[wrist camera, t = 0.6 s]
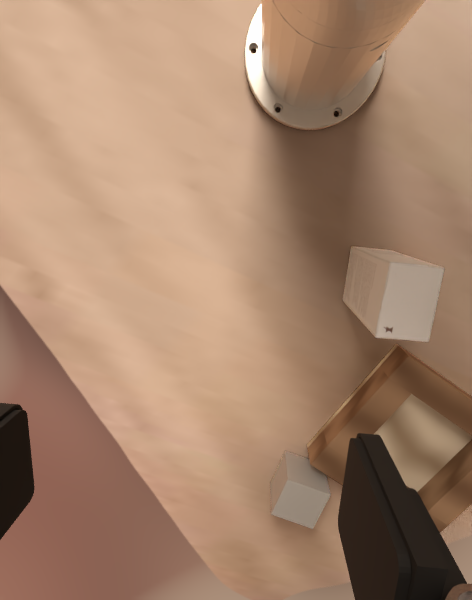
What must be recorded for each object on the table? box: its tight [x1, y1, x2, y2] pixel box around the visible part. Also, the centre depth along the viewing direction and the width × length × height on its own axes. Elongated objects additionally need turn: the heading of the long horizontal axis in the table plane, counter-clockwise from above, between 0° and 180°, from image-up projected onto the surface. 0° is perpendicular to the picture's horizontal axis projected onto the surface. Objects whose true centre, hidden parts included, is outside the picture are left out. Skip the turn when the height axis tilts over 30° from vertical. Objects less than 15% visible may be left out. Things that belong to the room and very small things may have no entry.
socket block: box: [307, 343, 472, 532], centre depth 42 cm, size 16×17×4 cm
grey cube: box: [270, 451, 331, 529], centre depth 44 cm, size 5×5×5 cm
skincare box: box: [343, 246, 445, 342], centre depth 34 cm, size 6×4×12 cm
